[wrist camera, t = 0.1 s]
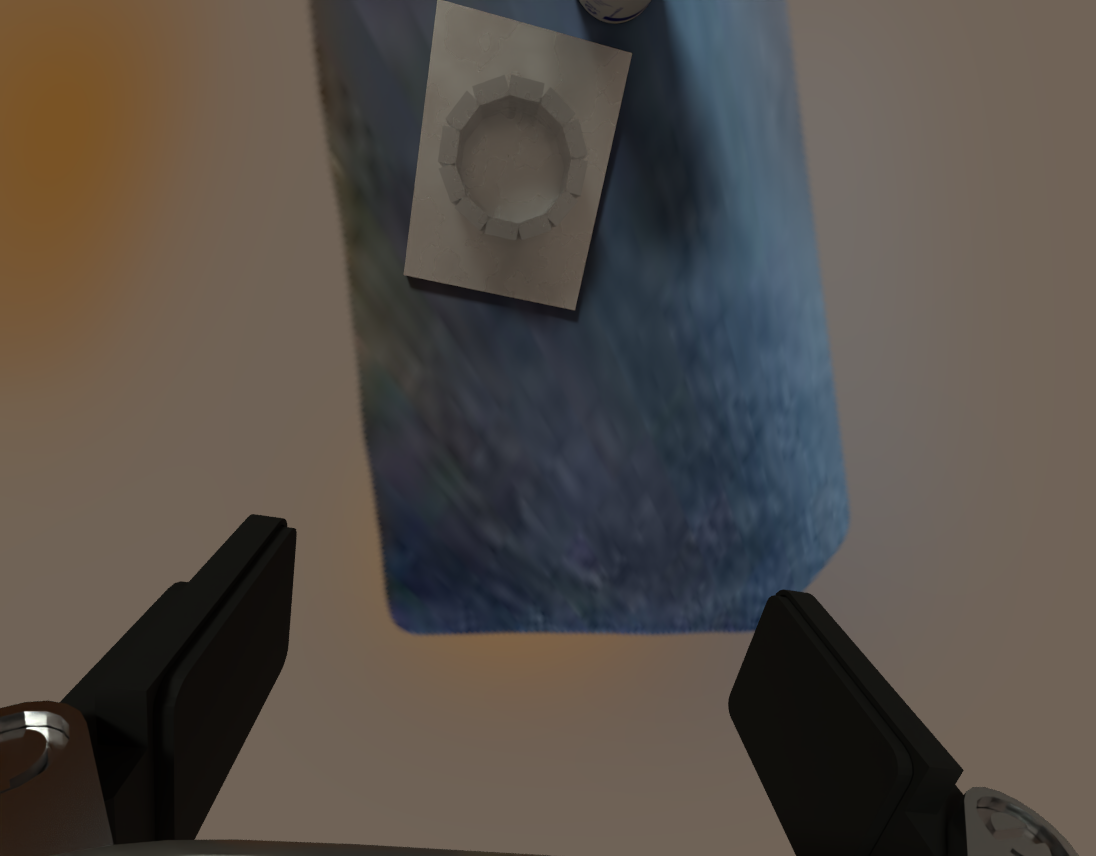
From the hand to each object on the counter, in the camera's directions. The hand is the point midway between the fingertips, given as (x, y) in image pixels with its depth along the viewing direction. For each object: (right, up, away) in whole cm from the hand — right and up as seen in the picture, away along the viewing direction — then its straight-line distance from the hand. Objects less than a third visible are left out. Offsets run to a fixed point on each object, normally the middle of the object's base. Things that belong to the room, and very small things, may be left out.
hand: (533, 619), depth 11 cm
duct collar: (-2, +21, +26) cm, 33 cm away
